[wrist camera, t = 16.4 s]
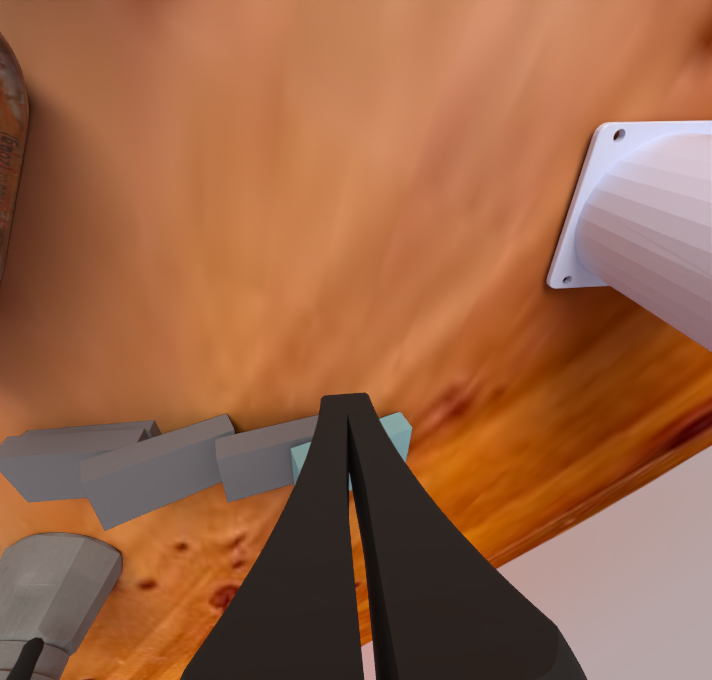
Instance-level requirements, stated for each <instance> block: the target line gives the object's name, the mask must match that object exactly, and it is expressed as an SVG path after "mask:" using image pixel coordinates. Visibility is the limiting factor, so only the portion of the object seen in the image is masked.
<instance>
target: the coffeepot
mask: <svg viewBox="0 0 712 680" xmlns="http://www.w3.org/2000/svg"><path fill="white" fill-rule="evenodd" d="M121 572H122V557H121V554H120V553H119V552H118V551H117V550H116V549H115V548H114V547H113V546H111V545H109V544H107V543H105V542H103V541H101V540H98V539H95V538H92V537H88V536H84V535H79V534H72V533H41V534H36V535H31V536H28V537H25V538H23V539H21V540H19V541H17V542H16V543H15V544H14V545H13V546H10V547H8V548H6V549H5V550H4V553H3V555H2V557H1V559H0V680H60V677H61V675H62V673H63V671H64V668H65V666H66V664H67V662H68V659H69V656H71V655H72V654H73V653H75V652H76V651H77V649H78V647H79V646H80V644H81V642H82V640H83V639H84V637H85V635H86V633H87V632H88V630H89V628H90V626H91V625H92V623H93V621H94V620H95V618H96V616H97V614H98V613H99V611H100V609H101V607H102V606H103V604H104V602H105V600H106V599H107V597H108V595H109V593H110V592H111V590H112V588H113V586H114V585H115V583H116V581H117V579H118V578H119V576H120V574H121Z"/></svg>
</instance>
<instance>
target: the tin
mask: <svg viewBox="0 0 712 680" xmlns="http://www.w3.org/2000/svg"><path fill="white" fill-rule="evenodd" d="M28 122H29V104H28V95H27V89H26V84H25V80H24V76H23V73H22V70H21V67H20V65H19V63H18V60H17V58H16V56H15V54H14V52H13V50H12V49H11V47H10V45H9V44H8V42H7V41H6V39H5V38H4V36H3V35H2V34H1V33H0V281H1V279H2V275H3V271H4V266H5V260H6V253H7V248H8V242H9V235H10V230H11V223H12V217H13V211H14V206H15V200H16V193H17V188H18V184H19V178H20V171H21V165H22V160H23V154H24V149H25V142H26V137H27V130H28Z"/></svg>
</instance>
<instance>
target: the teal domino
mask: <svg viewBox="0 0 712 680" xmlns="http://www.w3.org/2000/svg"><path fill="white" fill-rule="evenodd" d="M379 420H380V422H381V424H382V425H383V427H384V429H385V431H386V433H387V434H388V436H389V438H390V439H391V441H392V443H393V444H394V446H395V448H396V449H397V451H398V452H399V454H400V456H401V457H402V459H403V460H404V462H405V463H406V458H407V453H408V448H409V442H410V437H411V432H412V427H411V425H410V424H409V423H408V421H407V420H406V419H405V417H404V416H403V415H402V414H401V412H398V413H395V414H392V415H389V416H386V417H383V418H380V419H379ZM310 444H311V442H308V443H305V444H302V445H300V446H297V447H294V448H291V458H292V468H293V478H294V486H295V484H296V481H297V479H298V476H299V474H300V471H301V469H302V466H303V464H304V461H305V459H306V456H307V453H308V450H309V447H310ZM351 490H352V485H351V480H350V474H349V491H351Z"/></svg>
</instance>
